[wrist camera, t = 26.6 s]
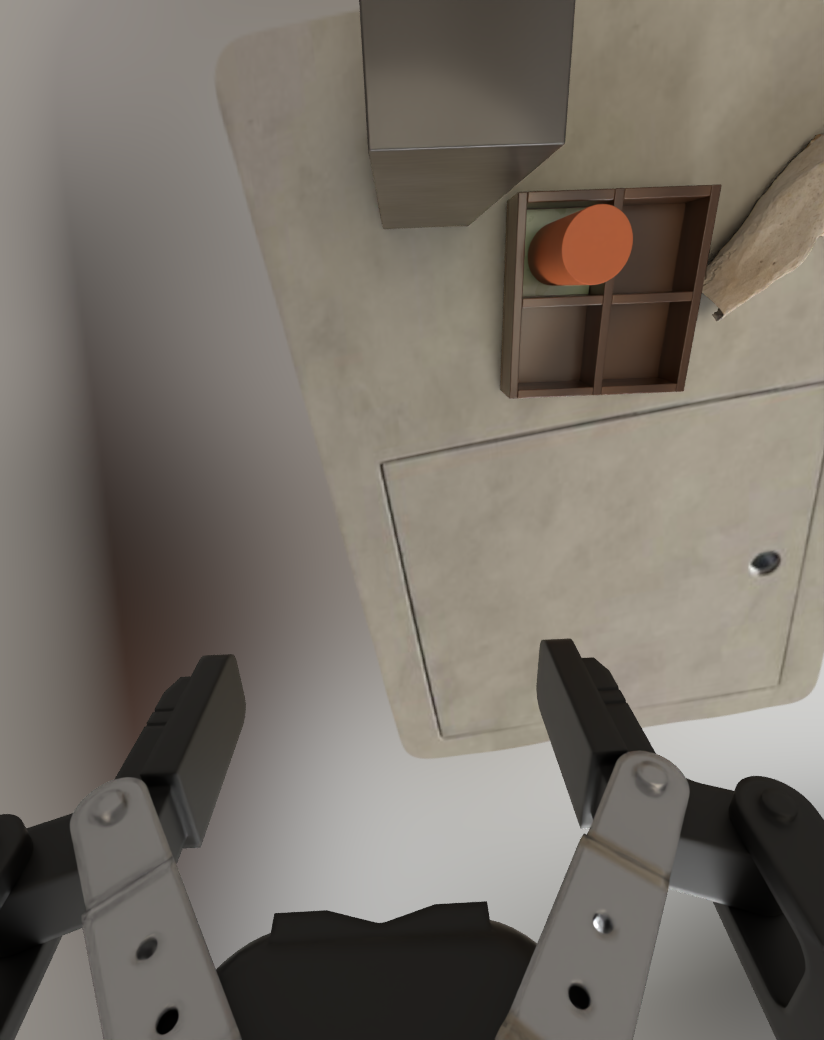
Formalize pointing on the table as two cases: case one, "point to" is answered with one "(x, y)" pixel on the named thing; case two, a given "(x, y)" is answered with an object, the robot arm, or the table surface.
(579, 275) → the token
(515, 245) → the grid
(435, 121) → the stand
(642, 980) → the robot arm
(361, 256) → the table surface
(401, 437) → the table surface
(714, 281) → the bone fragment
